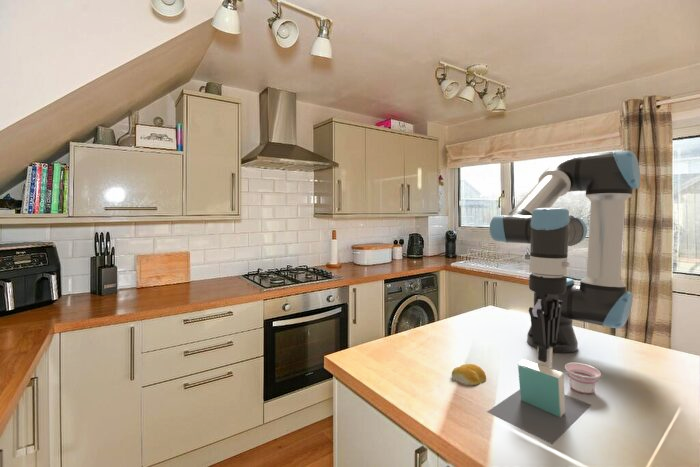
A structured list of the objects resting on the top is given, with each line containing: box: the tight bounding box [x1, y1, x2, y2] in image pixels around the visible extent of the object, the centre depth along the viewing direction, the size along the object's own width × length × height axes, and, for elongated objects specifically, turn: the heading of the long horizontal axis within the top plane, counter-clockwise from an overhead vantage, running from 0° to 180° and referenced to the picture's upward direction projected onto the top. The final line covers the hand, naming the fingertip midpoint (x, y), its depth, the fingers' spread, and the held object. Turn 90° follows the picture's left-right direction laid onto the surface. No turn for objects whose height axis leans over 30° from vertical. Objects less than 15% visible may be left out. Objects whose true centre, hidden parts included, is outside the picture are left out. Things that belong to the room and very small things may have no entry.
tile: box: [517, 358, 566, 417], centre depth 80 cm, size 9×3×10 cm, turn 38°
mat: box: [486, 389, 592, 445], centre depth 80 cm, size 14×22×1 cm, turn 128°
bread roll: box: [451, 363, 487, 386], centre depth 96 cm, size 8×9×4 cm
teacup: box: [564, 361, 602, 395], centre depth 88 cm, size 12×12×6 cm
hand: (544, 373), depth 81 cm, fingers closed
